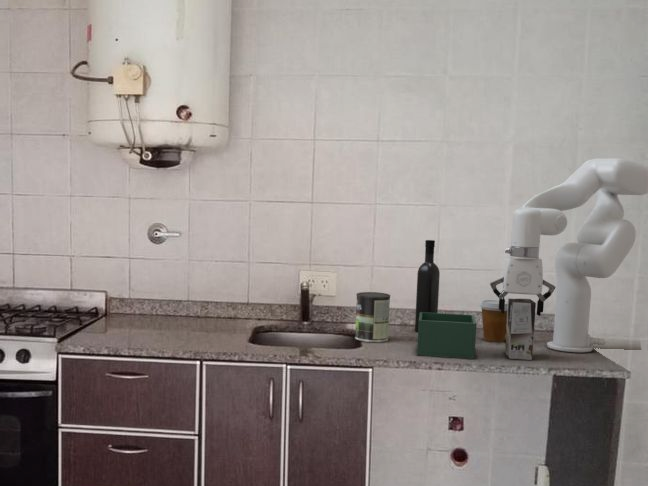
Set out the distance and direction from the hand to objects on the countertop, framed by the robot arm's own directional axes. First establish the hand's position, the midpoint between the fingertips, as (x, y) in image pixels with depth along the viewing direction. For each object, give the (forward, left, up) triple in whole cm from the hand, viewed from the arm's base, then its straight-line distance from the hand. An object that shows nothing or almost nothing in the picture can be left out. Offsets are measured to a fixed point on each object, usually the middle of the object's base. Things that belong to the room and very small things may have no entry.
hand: (520, 313), depth 229 cm
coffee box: (0, 0, -12) cm, 12 cm away
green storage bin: (+20, 0, -12) cm, 23 cm away
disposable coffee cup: (+5, -24, -12) cm, 28 cm away
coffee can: (+42, -12, -12) cm, 45 cm away
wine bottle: (+26, -32, -12) cm, 43 cm away
